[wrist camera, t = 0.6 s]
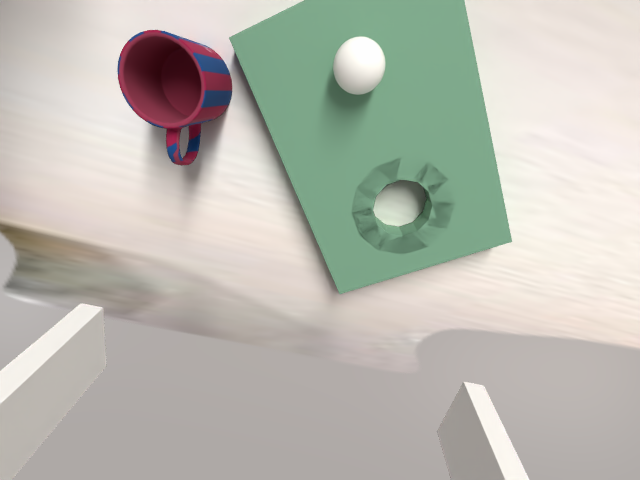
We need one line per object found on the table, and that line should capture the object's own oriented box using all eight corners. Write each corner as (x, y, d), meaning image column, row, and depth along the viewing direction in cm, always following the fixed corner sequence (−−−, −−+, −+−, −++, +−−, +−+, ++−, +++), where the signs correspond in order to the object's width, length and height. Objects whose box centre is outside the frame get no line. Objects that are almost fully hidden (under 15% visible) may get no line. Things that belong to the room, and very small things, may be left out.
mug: (235, 50, 30) (208, 40, 24) (227, 161, 34) (202, 176, 28) (161, 35, 30) (114, 21, 24) (161, 148, 34) (121, 161, 28)
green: (237, 41, 30) (229, 37, 28) (440, -58, 27) (449, -72, 24) (339, 282, 39) (339, 294, 37) (501, 232, 36) (512, 241, 33)
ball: (326, 53, 28) (324, 46, 24) (373, 31, 27) (378, 22, 23) (343, 102, 29) (343, 103, 26) (388, 83, 29) (395, 81, 25)
